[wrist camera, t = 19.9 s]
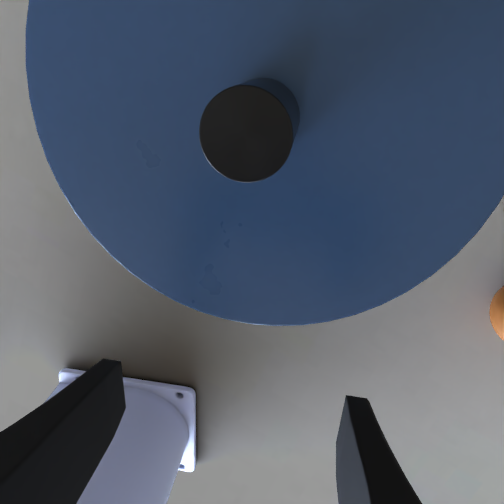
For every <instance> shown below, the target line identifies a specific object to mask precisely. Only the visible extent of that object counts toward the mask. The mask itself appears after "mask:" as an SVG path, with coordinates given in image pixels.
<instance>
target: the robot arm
mask: <svg viewBox="0 0 504 504" xmlns="http://www.w3.org/2000/svg"><path fill="white" fill-rule="evenodd" d="M59 380H60V383H59V385H58V386H57V387H56V388H55V390H54V391H53V392H52V393H51V395H50V396H49V397H48V398H47V400H46V401H45V402H44V403H43V404H42V405H41V406H39V407H38V408H36V409H35V410H33V411H32V412H30V413H29V414H27V415H26V416H25V417H23V418H22V419H20V420H19V421H17V422H16V423H14V424H13V425H11V426H9V427H8V428H6V429H5V430H3V431H1V432H0V504H167V501H168V498H169V495H170V492H171V489H172V486H173V484H174V481H175V478H176V475H177V472H178V470H181V471H186V472H192V471H194V470H195V467H196V393H195V391H194V390H193V389H192V388H190V387H185V386H179V385H172V384H166V383H160V382H153V381H147V380H140V379H134V378H127V377H123V375H122V366H121V361H116V360H109V359H102V360H101V361H99V362H98V363H97V364H95V365H94V366H93V367H91V368H90V369H89V370H87V371H82V370H76V369H69V368H64V369H62V370H61V371H60V373H59ZM178 392H180V393H182V394H180V393H178ZM336 481H337V492H338V502H339V504H422V503H421V501H420V500H419V498H418V496H417V495H416V493H415V491H414V490H413V488H412V486H411V485H410V483H409V481H408V480H407V478H406V476H405V474H404V473H403V471H402V469H401V467H400V465H399V464H398V462H397V460H396V458H395V456H394V454H393V452H392V450H391V449H390V447H389V445H388V443H387V441H386V439H385V437H384V434H383V432H382V430H381V428H380V426H379V424H378V422H377V419H376V417H375V415H374V412H373V410H372V407H371V405H370V402H369V401H368V400H367V398H360V397H354V396H347V395H346V398H345V403H344V407H343V412H342V417H341V422H340V427H339V431H338V436H337V441H336Z"/></svg>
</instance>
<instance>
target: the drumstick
mask: <svg viewBox="0 0 504 504" xmlns="http://www.w3.org/2000/svg"><path fill="white" fill-rule="evenodd" d="M490 320H491V323H492V326H493V328H494V330H495V331H496V333H497V334H498V335H499V336H500V338H501V339H502V340H504V286H502V287H501V288H500V289H499V290H498V291H497V293H496V294H495V296H494V297H493V299H492V302H491V305H490Z"/></svg>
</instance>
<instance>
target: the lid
mask: <svg viewBox="0 0 504 504" xmlns="http://www.w3.org/2000/svg"><path fill="white" fill-rule="evenodd" d="M26 71H27V80H28V89H29V97H30V102H31V107H32V111H33V116H34V120H35V124H36V129H37V132H38V135H39V138H40V141H41V144H42V147H43V150H44V153H45V155H46V158H47V161H48V163H49V165H50V167H51V170H52V172H53V174H54V176H55V178H56V180H57V182H58V184H59V187H60V189H61V190H62V192H63V194H64V195H65V197H66V198H67V200H68V202H69V203H70V205H71V207H72V208H73V210H74V212H75V213H76V215H77V216H78V217H79V219H80V220H81V221H82V223H83V224H84V225H85V227H86V228H87V229H88V231H89V232H90V233H91V234H92V236H93V237H94V238H95V239H96V240H97V241H98V242H99V243H100V244H101V245H102V246H103V248H104V249H105V250H106V251H107V252H108V253H109V254H110V255H111V256H112V257H113V258H114V259H115V260H117V261H118V262H119V263H120V264H121V265H122V266H123V267H125V268H126V269H127V270H128V271H129V272H130V273H132V274H133V275H134V276H136V277H137V278H139V279H140V280H142V281H143V282H144V283H146V284H147V285H149V286H150V287H151V288H153V289H155V290H156V291H158V292H160V293H162V294H164V295H165V296H167V297H169V298H171V299H173V300H174V301H176V302H179V303H181V304H183V305H186V306H188V307H190V308H193V309H195V310H197V311H200V312H203V313H206V314H210V315H213V316H216V317H219V318H223V319H227V320H232V321H237V322H243V323H248V324H257V325H270V326H293V325H307V324H315V323H322V322H329V321H333V320H337V319H341V318H345V317H349V316H353V315H356V314H359V313H361V312H364V311H367V310H369V309H372V308H375V307H377V306H380V305H382V304H384V303H386V302H388V301H390V300H392V299H394V298H396V297H398V296H400V295H402V294H404V293H406V292H408V291H409V290H411V289H412V288H414V287H415V286H417V285H418V284H420V283H421V282H423V281H424V280H426V279H427V278H429V277H430V276H432V275H433V274H434V273H435V272H437V271H438V270H439V269H440V268H441V267H442V266H444V265H445V264H446V263H447V262H448V261H450V260H451V259H452V258H453V257H454V256H456V255H457V254H458V252H459V251H460V250H461V249H462V248H463V247H464V246H465V245H466V244H467V243H468V242H469V241H470V240H471V239H472V238H473V237H474V235H475V234H476V233H477V232H478V231H479V230H480V228H481V227H482V226H483V224H484V223H485V222H486V220H487V219H488V218H489V216H490V215H491V214H492V212H493V211H494V210H495V208H496V207H497V205H498V204H499V202H500V201H501V199H502V197H503V195H504V0H29V6H28V14H27V23H26Z"/></svg>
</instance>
